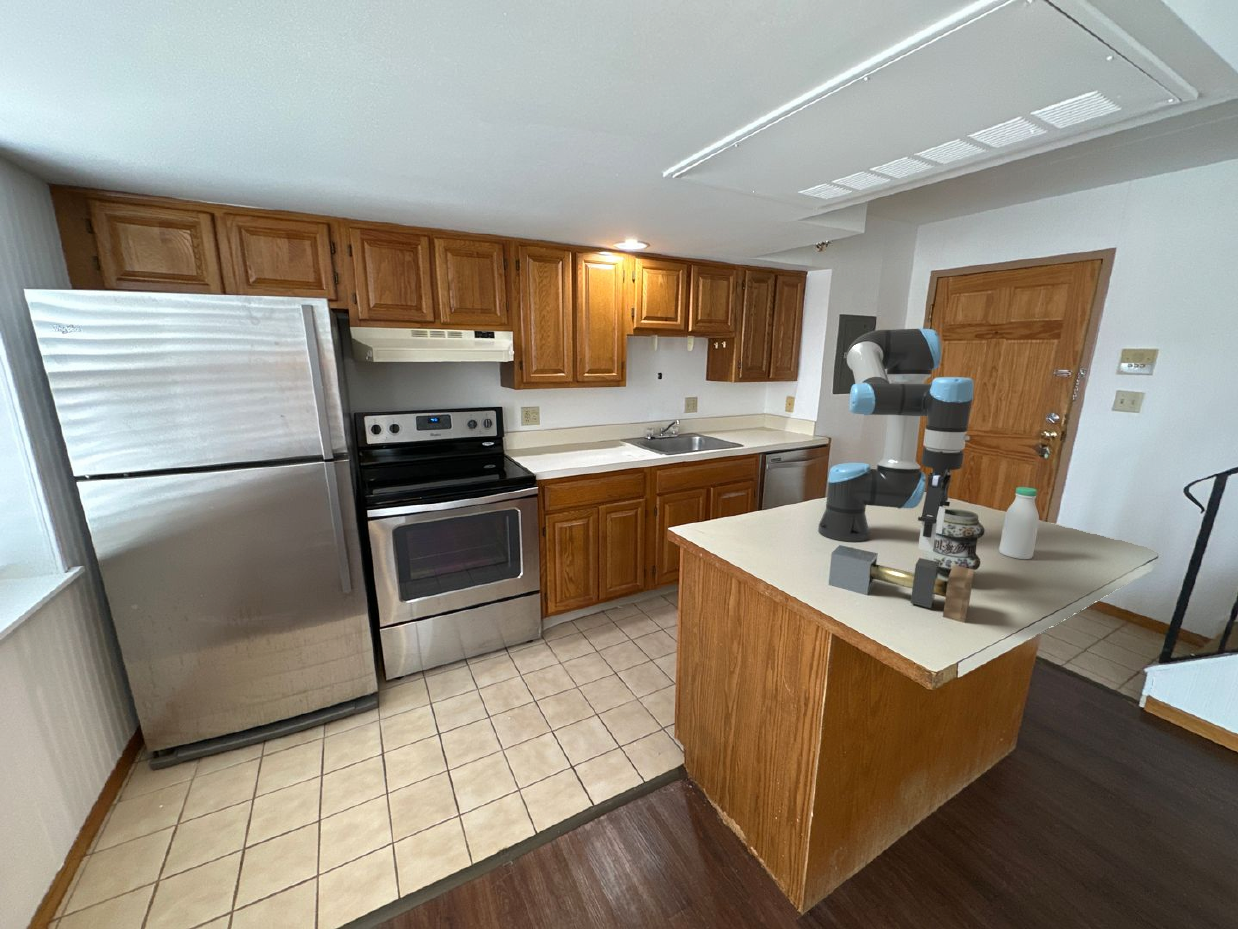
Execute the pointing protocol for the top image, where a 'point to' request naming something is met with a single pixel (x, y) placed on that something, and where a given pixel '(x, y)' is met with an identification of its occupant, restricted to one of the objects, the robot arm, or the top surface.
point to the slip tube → (915, 580)
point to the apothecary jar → (956, 542)
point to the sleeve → (852, 569)
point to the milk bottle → (1020, 525)
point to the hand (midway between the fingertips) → (930, 540)
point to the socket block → (958, 593)
